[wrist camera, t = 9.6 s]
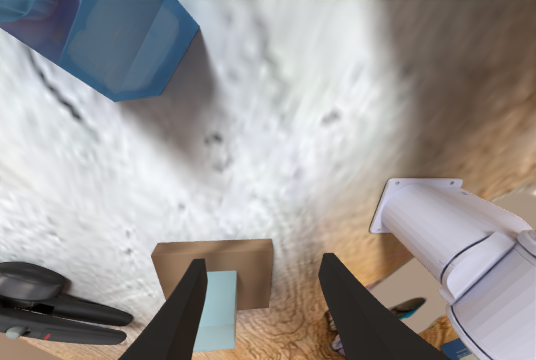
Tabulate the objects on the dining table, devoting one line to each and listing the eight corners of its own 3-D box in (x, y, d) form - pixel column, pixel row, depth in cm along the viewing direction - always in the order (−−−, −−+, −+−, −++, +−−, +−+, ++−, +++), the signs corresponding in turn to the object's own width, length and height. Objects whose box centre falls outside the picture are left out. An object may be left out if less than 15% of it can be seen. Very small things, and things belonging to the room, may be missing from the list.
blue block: (236, 270, 24) (233, 324, 19) (237, 294, 26) (234, 348, 21) (195, 272, 23) (180, 328, 18) (200, 296, 26) (187, 353, 20)
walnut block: (270, 235, 25) (273, 250, 23) (267, 291, 31) (268, 307, 28) (159, 239, 24) (150, 255, 21) (176, 297, 29) (171, 315, 27)
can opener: (-14, 277, 23) (-85, 329, 18) (12, 248, 22) (-57, 297, 17) (121, 327, 31) (96, 374, 26) (148, 308, 29) (127, 354, 24)
